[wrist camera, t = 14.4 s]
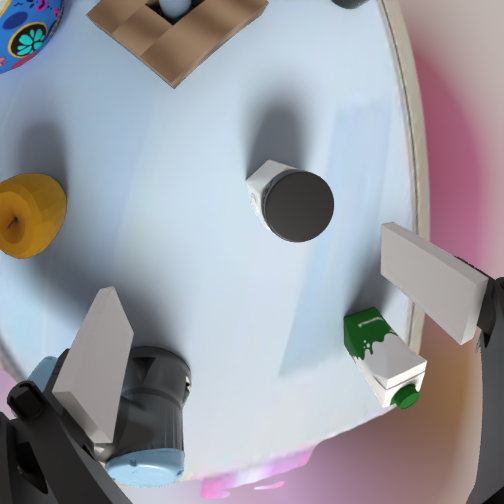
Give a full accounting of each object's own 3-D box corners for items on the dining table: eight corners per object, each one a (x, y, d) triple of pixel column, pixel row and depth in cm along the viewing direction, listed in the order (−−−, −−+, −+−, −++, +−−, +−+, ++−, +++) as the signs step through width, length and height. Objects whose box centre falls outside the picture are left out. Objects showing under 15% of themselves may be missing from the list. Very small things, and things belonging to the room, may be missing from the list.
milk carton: (340, 349, 58) (384, 420, 40) (338, 314, 55) (391, 387, 36) (377, 335, 59) (427, 398, 41) (378, 300, 55) (438, 363, 37)
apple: (13, 212, 37) (-32, 239, 25) (38, 153, 35) (-10, 163, 23) (62, 247, 41) (26, 284, 29) (90, 188, 39) (53, 210, 27)
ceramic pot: (59, 79, 32) (6, 63, 18) (-20, 83, 27) (-76, 78, 14) (96, -19, 26) (65, -64, 12) (12, -8, 22) (-31, -34, 8)
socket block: (174, 89, 36) (170, 83, 31) (96, 25, 30) (85, 14, 25) (261, 14, 33) (268, 2, 29) (182, -44, 27) (181, -60, 22)
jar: (240, 166, 42) (256, 177, 31) (294, 153, 42) (327, 160, 31) (254, 224, 45) (273, 255, 34) (305, 210, 46) (339, 235, 35)
